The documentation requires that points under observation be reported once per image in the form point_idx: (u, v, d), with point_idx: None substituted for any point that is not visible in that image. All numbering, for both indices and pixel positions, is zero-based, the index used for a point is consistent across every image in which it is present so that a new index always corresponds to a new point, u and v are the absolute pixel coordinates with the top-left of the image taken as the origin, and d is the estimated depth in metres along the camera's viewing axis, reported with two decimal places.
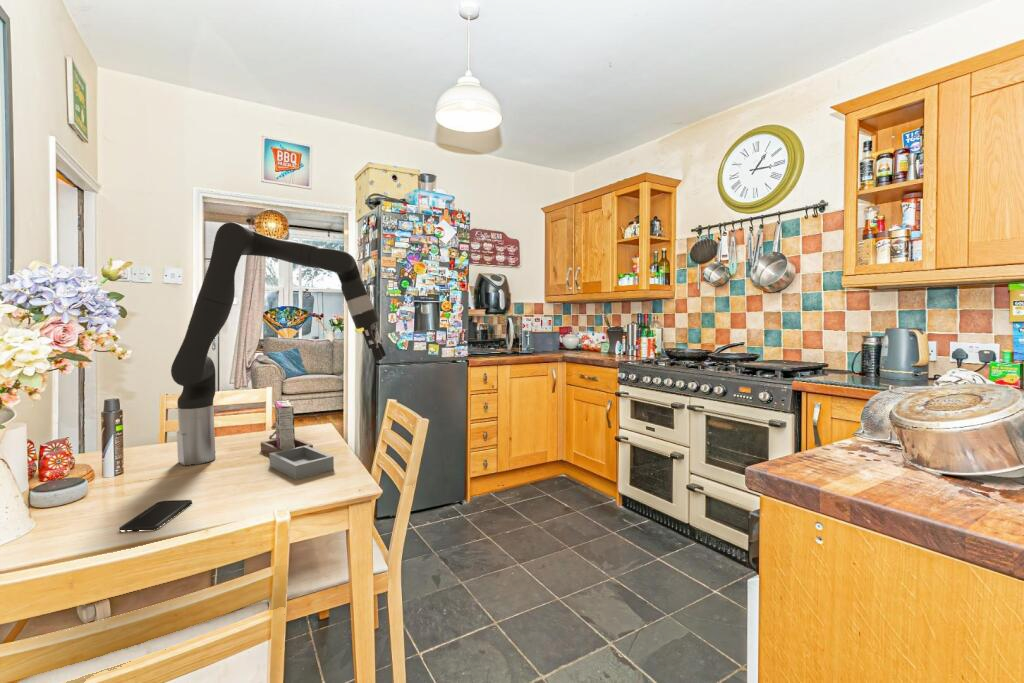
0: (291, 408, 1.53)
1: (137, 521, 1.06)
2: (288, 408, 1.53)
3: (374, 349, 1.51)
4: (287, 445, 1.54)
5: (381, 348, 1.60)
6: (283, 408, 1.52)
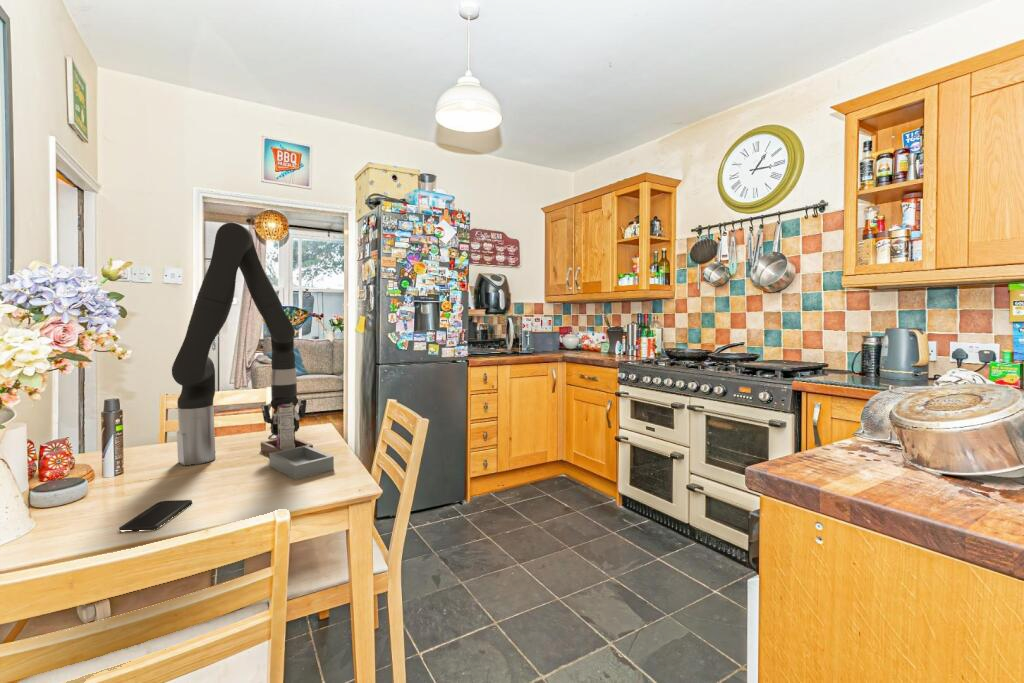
0: (292, 408, 1.54)
1: (137, 521, 1.06)
2: (289, 408, 1.53)
3: (271, 424, 1.54)
4: (287, 445, 1.54)
5: None
6: (284, 408, 1.52)
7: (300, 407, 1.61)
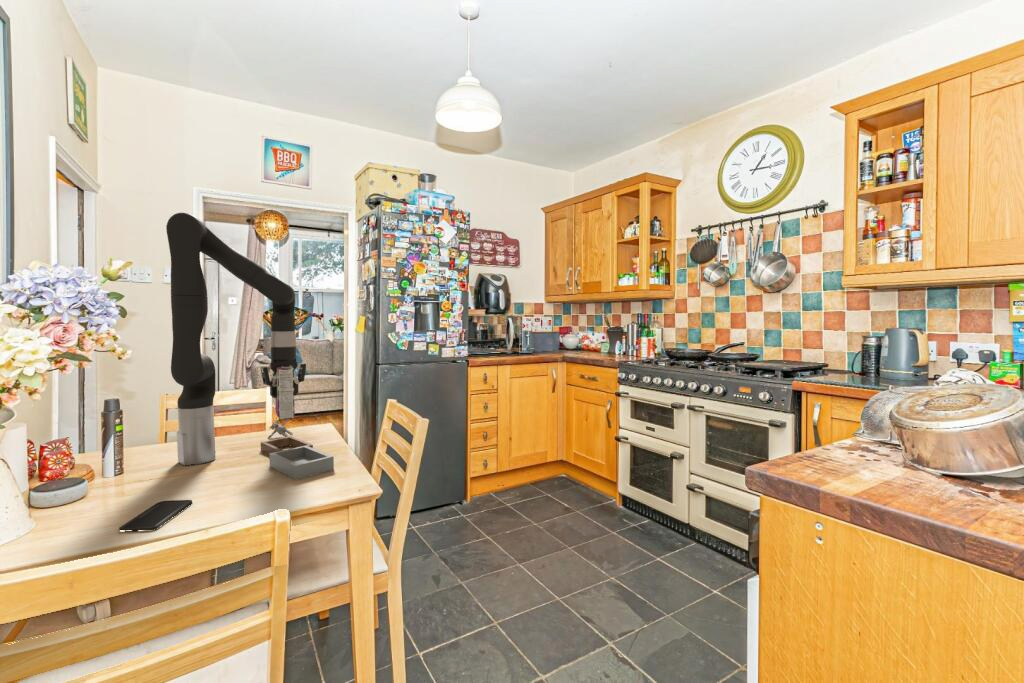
0: (291, 370, 1.53)
1: (137, 521, 1.06)
2: (288, 370, 1.52)
3: (270, 386, 1.53)
4: (287, 407, 1.53)
5: (294, 386, 1.59)
6: (283, 370, 1.52)
7: (299, 371, 1.61)
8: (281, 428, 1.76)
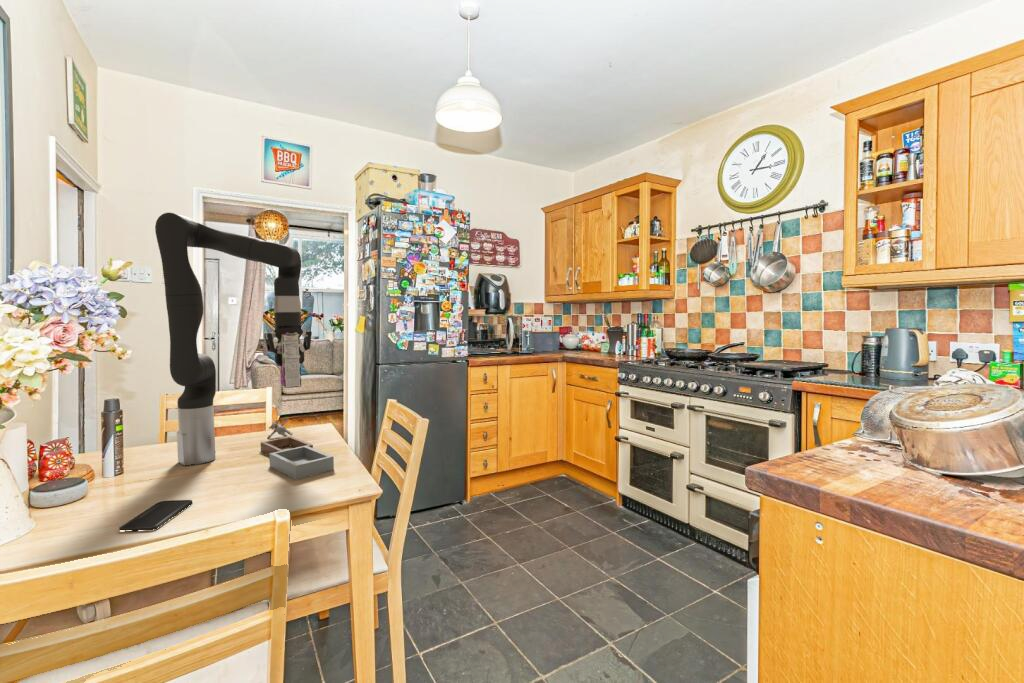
0: (297, 336, 1.46)
1: (137, 521, 1.06)
2: (294, 336, 1.45)
3: (275, 354, 1.46)
4: (293, 375, 1.46)
5: None
6: (289, 336, 1.45)
7: (305, 339, 1.53)
8: (281, 428, 1.76)
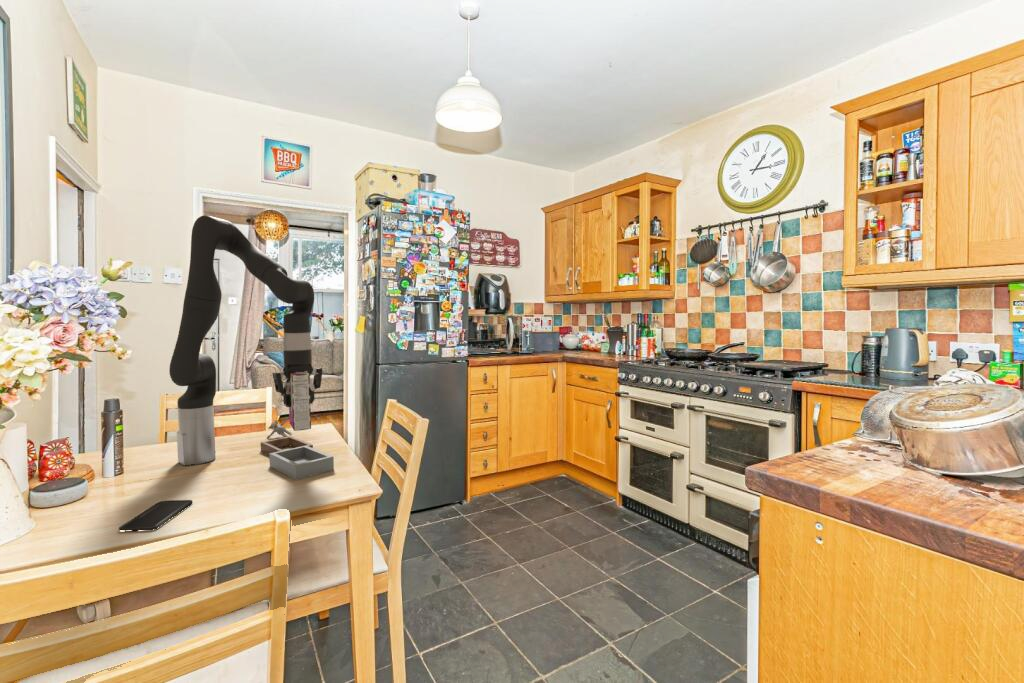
0: (307, 376, 1.37)
1: (137, 521, 1.06)
2: (303, 376, 1.37)
3: (283, 394, 1.38)
4: (302, 417, 1.37)
5: None
6: (298, 375, 1.36)
7: (315, 377, 1.45)
8: (280, 428, 1.76)
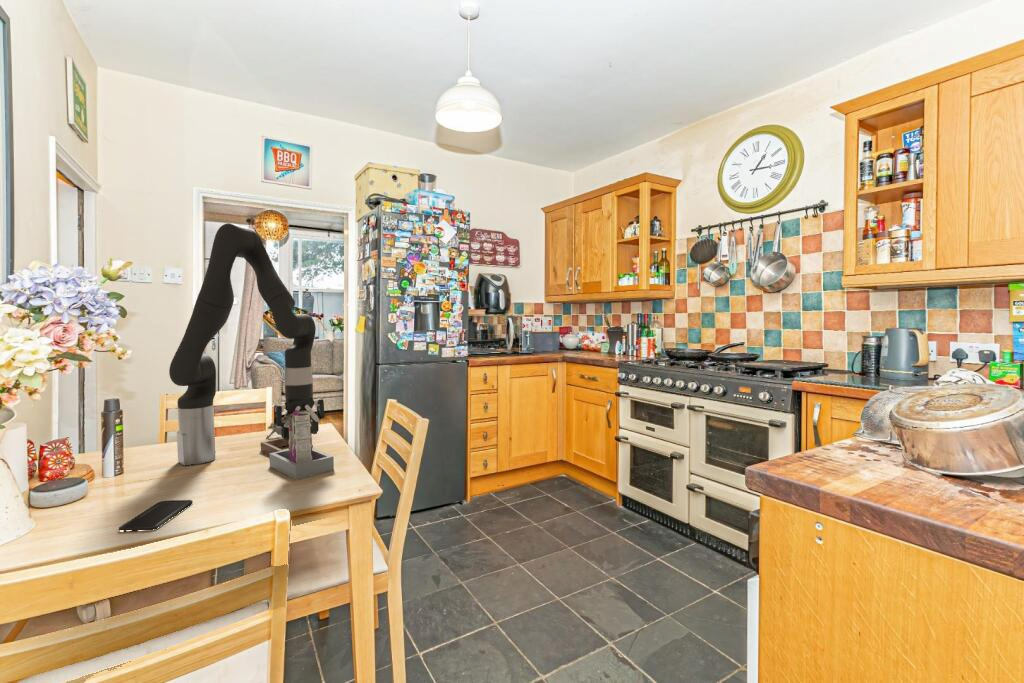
0: (308, 415, 1.38)
1: (137, 521, 1.06)
2: (305, 416, 1.38)
3: (281, 427, 1.38)
4: (304, 457, 1.38)
5: (313, 425, 1.44)
6: (300, 416, 1.37)
7: (318, 408, 1.46)
8: (280, 428, 1.76)
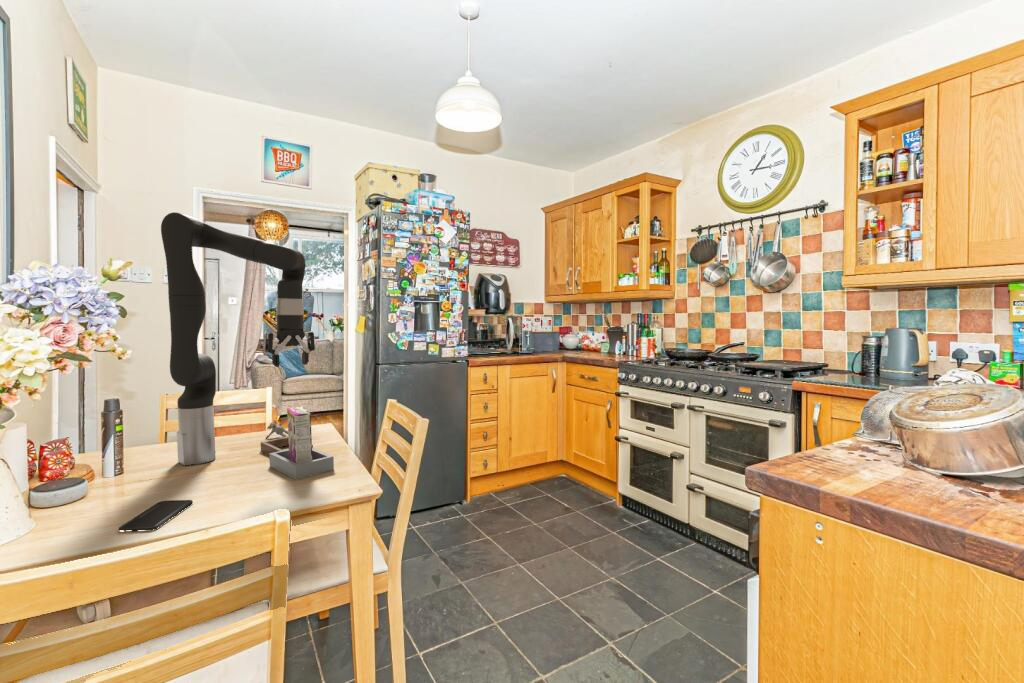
0: (308, 416, 1.38)
1: (137, 521, 1.06)
2: (305, 416, 1.38)
3: (272, 354, 1.45)
4: (304, 457, 1.38)
5: (304, 355, 1.52)
6: (299, 416, 1.37)
7: (308, 340, 1.53)
8: (279, 428, 1.76)
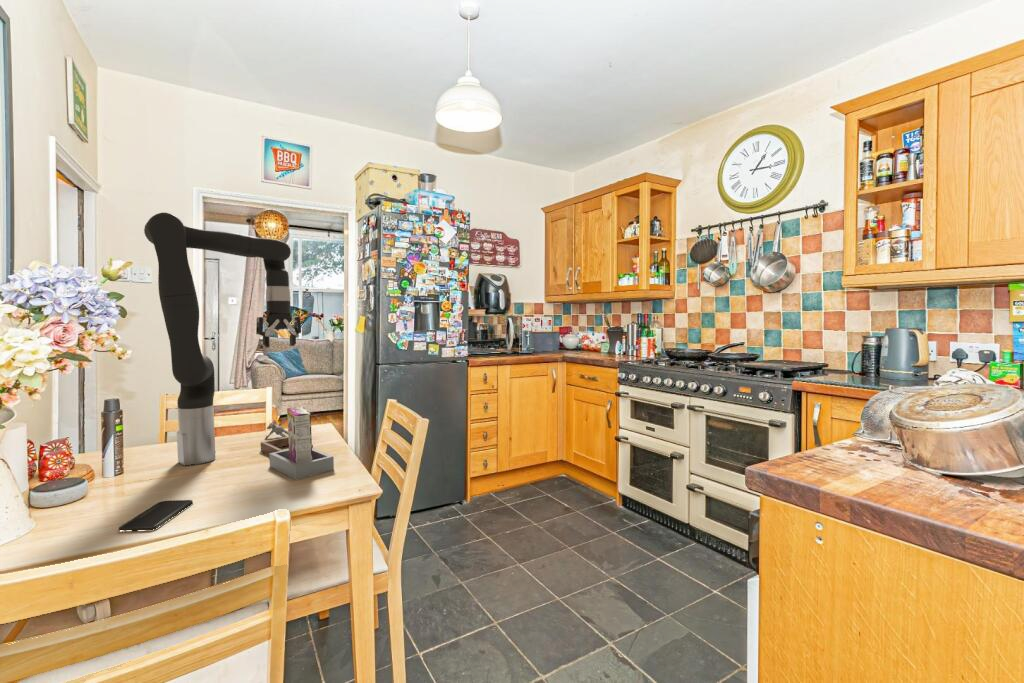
0: (308, 416, 1.38)
1: (137, 521, 1.06)
2: (305, 416, 1.38)
3: (263, 336, 1.62)
4: (304, 457, 1.38)
5: (291, 337, 1.69)
6: (299, 416, 1.37)
7: (295, 324, 1.71)
8: (279, 428, 1.76)
